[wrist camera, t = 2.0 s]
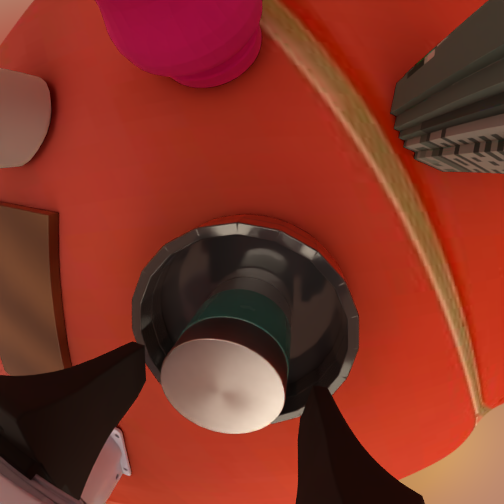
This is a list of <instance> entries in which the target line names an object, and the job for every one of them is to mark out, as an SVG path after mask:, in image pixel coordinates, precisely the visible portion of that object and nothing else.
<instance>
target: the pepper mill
mask: <svg viewBox="0 0 504 504" xmlns="http://www.w3.org/2000/svg"><path fill="white" fill-rule="evenodd" d="M95 1H96V3H97V4H98V6H99V8H100V10H101V13H102V16H103V19H104V22H105V25H106V28H107V32H108V34H109V36H110V38H111V40H112V41H113V43H114V44H115V46H116V47H117V49H118V50H119V52H120V53H121V54H122V55H124V56H125V57H126V58H127V59H128V60H129V61H131V62H132V63H133V64H134V65H136V66H137V67H139V68H140V69H142V70H144V71H146V72H149V73H152V74H156V75H161V76H169V77H171V78H172V79H174V80H175V81H177V82H178V83H180V84H183V85H186V86H189V87H194V88H207V87H214V86H218V85H221V84H224V83H227V82H229V81H231V80H233V79H235V78H237V77H238V76H240V75H241V74H242V73H244V72H245V71H246V70H247V69H248V68H249V67H250V65H251V64H252V63H253V62H254V60H255V59H256V57H257V55H258V53H259V51H260V47H261V41H262V34H261V29H260V25H259V22H260V18H261V15H262V0H95Z"/></svg>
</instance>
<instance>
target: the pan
mask: <svg viewBox="0 0 504 504" xmlns="http://www.w3.org/2000/svg"><path fill="white" fill-rule="evenodd" d="M240 277H250V278H256V279H260V280H263V281H265V282H267V283H269V284H271V285H272V286H274V287H275V288H276V289H277V290H278V291H280V292H281V294H282V295H283V296H284V297H285V299H286V301H287V303H288V305H289V308H290V311H291V348H290V363H289V374H288V379H287V386H286V398H285V403H284V407H283V409H282V411H281V413H280V414H279V416H278V417H277V418H276V419H275V420H274V421H273V422H271V423H270V424H273V423H277V422H281V421H285V420H289V419H293V418H296V417H300V416H301V415H302V413H303V410H304V408H305V405H306V403H307V400H308V397H309V395H310V392H311V389H312V387H313V385H314V386H321V387H327V388H328V389H329V391H330V393H331V395H333V393H334V392H335V391H336V390H337V389H338V388H339V387H340V386H341V384H342V383H343V382H344V381H345V380H346V378H347V377H348V375H349V372H350V370H351V367H352V365H353V362H354V360H355V357H356V354H357V352H358V348H359V315H358V311H357V309H356V306H355V304H354V301H353V299H352V296H351V294H350V291H349V289H348V286H347V284H346V281H345V279H344V277H343V274H342V272H341V270H340V267H339V265H338V264H337V262H336V261H335V260H334V259H333V258H332V256H331V255H330V254H329V252H328V251H327V250H326V249H325V248H324V247H323V246H322V245H321V244H320V243H319V242H318V241H317V240H316V239H315V238H314V237H312V236H311V235H309V234H308V233H307V232H305V231H303V230H302V229H300V228H298V227H296V226H295V225H293V224H290V223H288V222H285V221H283V220H280V219H276V218H272V217H268V216H262V215H254V214H239V215H231V216H225V217H221V218H215V219H212V220H210V221H208V222H206V223H204V224H202V225H200V226H198V227H197V228H195V229H193V230H191V231H189V232H187V233H185V234H183V235H181V236H179V237H178V238H176V239H174V240H172V241H170V242H168V243H166V244H165V245H164V246H163V247H162V248H161V249H160V250H159V251H158V252H157V254H156V255H155V256H154V257H153V258H152V259H151V260H150V262H149V263H148V264H147V265H146V266H145V267H144V269H143V270H142V272H141V275H140V278H139V281H138V283H137V286H136V289H135V292H134V295H133V298H132V329H133V333H134V336H135V339H136V342H137V343H139V344H142V345H145V363H146V365H147V366H148V368H149V369H150V370H151V372H152V373H153V375H154V376H155V378H156V379H157V380H158V382H160V384H161V378H160V373H161V366H162V363H163V361H164V359H165V357H166V356H167V354H168V353H169V352H170V350H171V349H172V347H173V346H174V345H175V343H176V342H177V340H178V338H179V336H180V334H181V333H182V332H183V330H184V329H185V328H186V326H187V325H188V323H189V322H190V321H191V319H192V318H193V317H194V315H195V314H196V312H197V311H198V310H199V308H200V307H201V306H202V304H203V303H204V302H205V301H206V300H207V299H208V298H209V296H210V295H211V293H212V292H213V291H214V290H215V289H216V288H217V287H218V286H219V285H221V284H222V283H224V282H226V281H228V280H231V279H234V278H240ZM161 385H162V384H161Z"/></svg>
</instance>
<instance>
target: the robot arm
mask: <svg viewBox="0 0 504 504" xmlns="http://www.w3.org/2000/svg"><path fill="white" fill-rule="evenodd" d="M145 381H146V370H145V345H142V344H139V343H136V342H133V341H132V342H130V343H128V344H125V345H123V346H121V347H119V348H117V349H115V350H112V351H110V352H108V353H106V354H104V355H101V356H99V357H97V358H94V359H92V360H89V361H87V362H84V363H81V364H79V365H76V366H73V367H70V368H66V369H62V370H58V371H54V372H48V373H42V374H36V375H24V376H5V375H0V504H105V503H106V501H107V499H108V498H109V496H110V494H111V493H112V491H113V489H114V488H115V486H116V484H117V482H118V481H119V479H120V477H121V476H122V474H126V475H128V476H130V475H131V474H132V473H131V469H130V465H129V461H128V456H127V452H126V448H125V443H124V438H123V433H122V431H121V430H120V429H119V428H116V426H117V424H118V423H119V422H120V420H121V419H122V418H123V416H124V415H125V414H126V412H127V411H128V409H129V408H130V407H131V405H132V404H133V403H134V401H135V400H136V398H137V397H138V395H139V393H140V391H141V389H142V387H143V385H144V383H145ZM296 504H425V503H424V500H423V497H422V496H421V495H420V494H418V493H416V492H415V491H413V490H411V489H410V488H408V487H407V486H405V485H404V484H402V483H401V482H399V481H398V480H397V479H396V478H394V477H393V476H392V475H390V474H389V473H388V472H387V471H386V470H385V469H384V468H383V467H381V466H380V465H379V464H378V463H377V462H376V461H375V460H374V459H373V458H372V457H371V456H370V454H369V453H368V452H367V451H366V450H365V449H364V447H363V446H362V445H361V444H360V442H359V441H358V440H357V438H356V437H355V435H354V434H353V432H352V431H351V429H350V428H349V426H348V424H347V423H346V421H345V419H344V418H343V416H342V414H341V412H340V411H339V409H338V407H337V405H336V403H335V401H334V399H333V397H332V395H331V393H330V391H329V389H328V388H327V387H321V386H314V385H313V387H312V389H311V392H310V395H309V397H308V400H307V403H306V405H305V408H304V410H303V413H302V415H301V418H300V425H299V434H298V490H297V498H296Z"/></svg>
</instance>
